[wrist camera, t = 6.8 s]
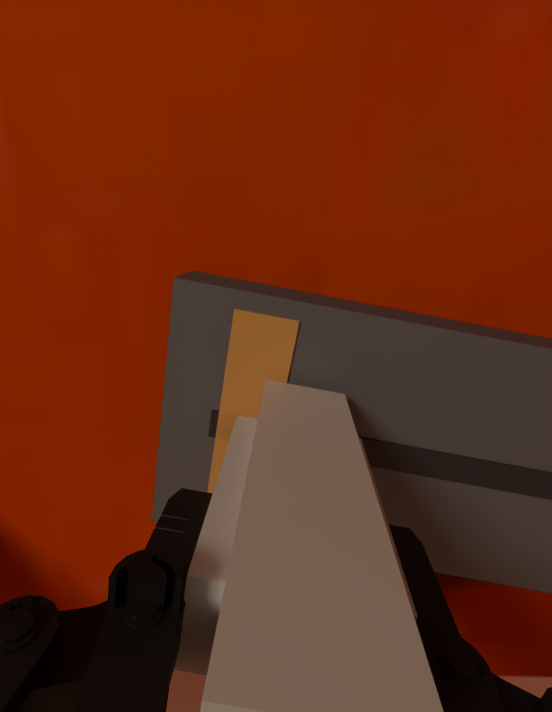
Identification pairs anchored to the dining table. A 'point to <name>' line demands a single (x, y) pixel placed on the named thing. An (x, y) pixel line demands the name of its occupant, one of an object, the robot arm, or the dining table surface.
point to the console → (377, 413)
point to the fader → (313, 577)
